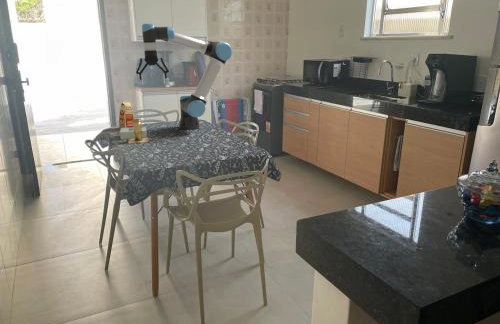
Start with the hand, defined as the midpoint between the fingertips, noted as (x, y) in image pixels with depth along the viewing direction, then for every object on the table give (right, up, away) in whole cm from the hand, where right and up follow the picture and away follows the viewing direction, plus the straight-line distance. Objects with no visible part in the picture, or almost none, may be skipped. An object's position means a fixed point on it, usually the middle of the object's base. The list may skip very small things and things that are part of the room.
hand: (153, 84), depth 244 cm
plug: (-8, -36, -6) cm, 37 cm away
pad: (-8, -37, -5) cm, 38 cm away
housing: (-14, -33, +5) cm, 36 cm away
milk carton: (-25, -26, +28) cm, 46 cm away
